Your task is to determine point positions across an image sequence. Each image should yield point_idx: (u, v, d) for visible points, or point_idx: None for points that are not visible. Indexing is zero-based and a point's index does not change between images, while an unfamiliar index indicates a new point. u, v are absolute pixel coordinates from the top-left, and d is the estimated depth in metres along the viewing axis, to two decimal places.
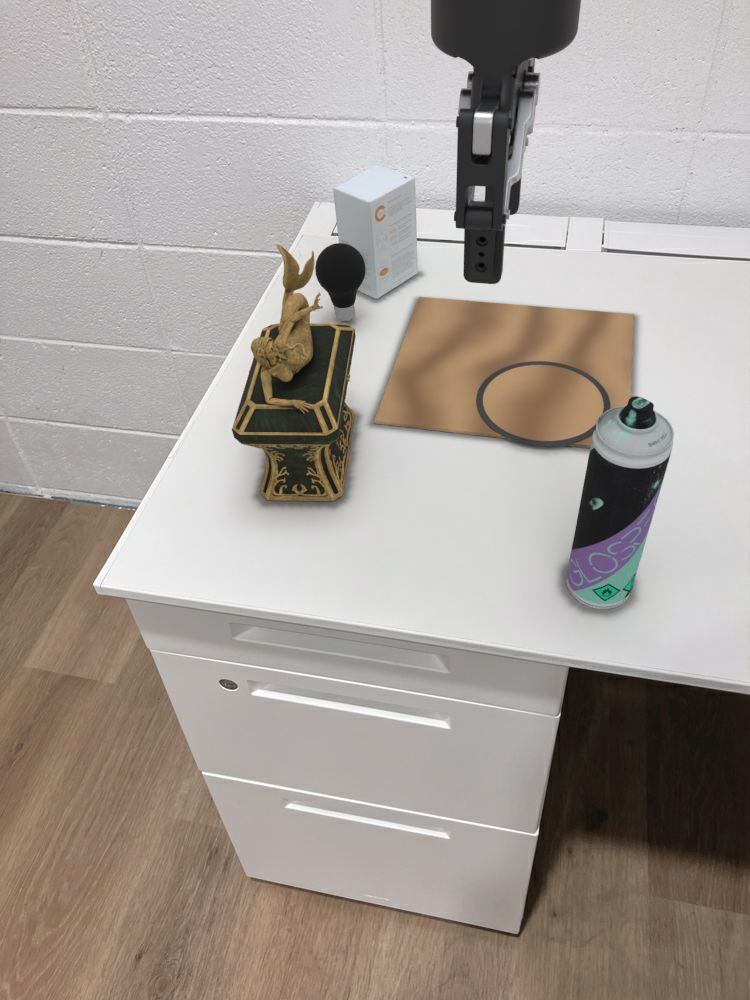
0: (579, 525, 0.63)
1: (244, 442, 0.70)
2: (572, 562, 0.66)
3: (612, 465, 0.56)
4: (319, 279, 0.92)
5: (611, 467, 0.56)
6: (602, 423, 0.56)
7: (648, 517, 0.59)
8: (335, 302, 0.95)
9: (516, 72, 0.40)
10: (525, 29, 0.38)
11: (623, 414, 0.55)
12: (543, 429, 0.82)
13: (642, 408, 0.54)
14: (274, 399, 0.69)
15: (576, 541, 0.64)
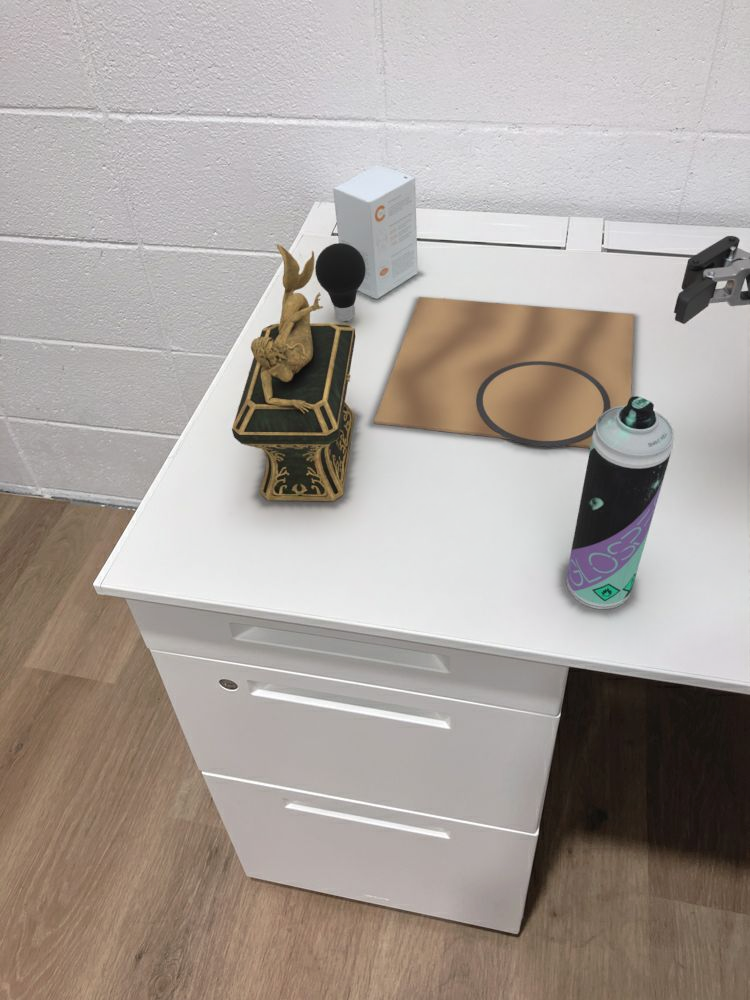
0: (579, 525, 0.63)
1: (244, 442, 0.70)
2: (572, 562, 0.66)
3: (612, 465, 0.56)
4: (319, 279, 0.92)
5: (611, 467, 0.56)
6: (602, 423, 0.56)
7: (648, 517, 0.59)
8: (335, 302, 0.95)
9: None
10: None
11: (623, 414, 0.55)
12: (543, 429, 0.82)
13: (642, 408, 0.54)
14: (274, 399, 0.69)
15: (576, 541, 0.64)
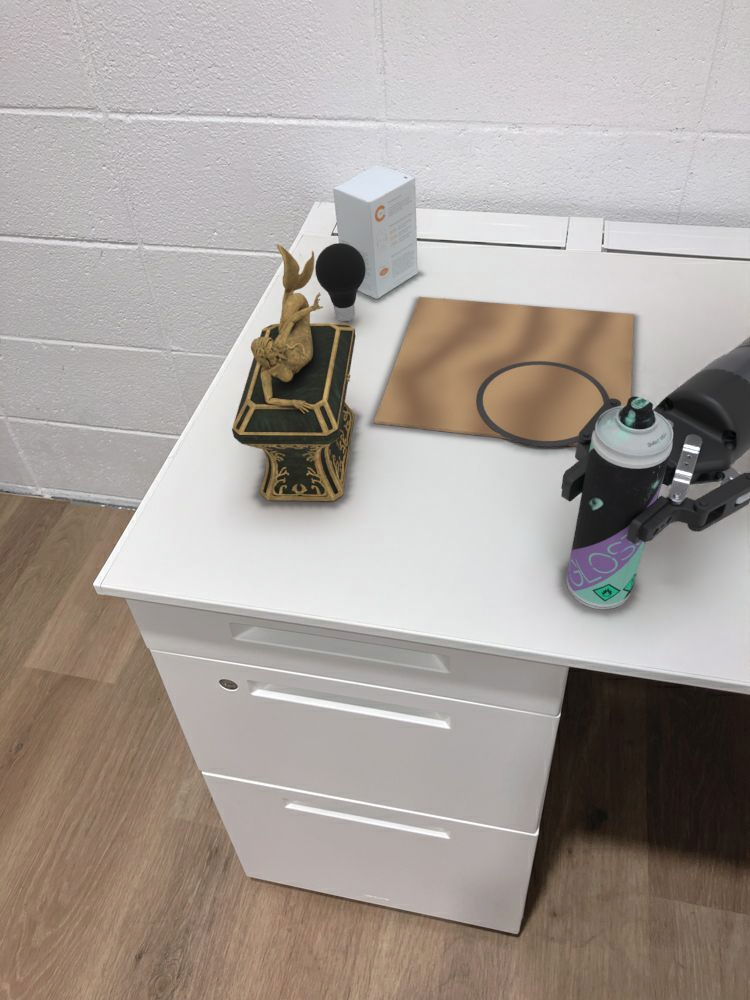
0: (579, 525, 0.63)
1: (244, 442, 0.70)
2: (572, 562, 0.66)
3: (611, 465, 0.56)
4: (319, 279, 0.92)
5: (611, 467, 0.56)
6: (601, 423, 0.56)
7: None
8: (335, 302, 0.95)
9: (662, 411, 0.65)
10: None
11: (622, 414, 0.55)
12: (543, 429, 0.82)
13: (641, 408, 0.54)
14: (274, 399, 0.69)
15: (576, 541, 0.64)
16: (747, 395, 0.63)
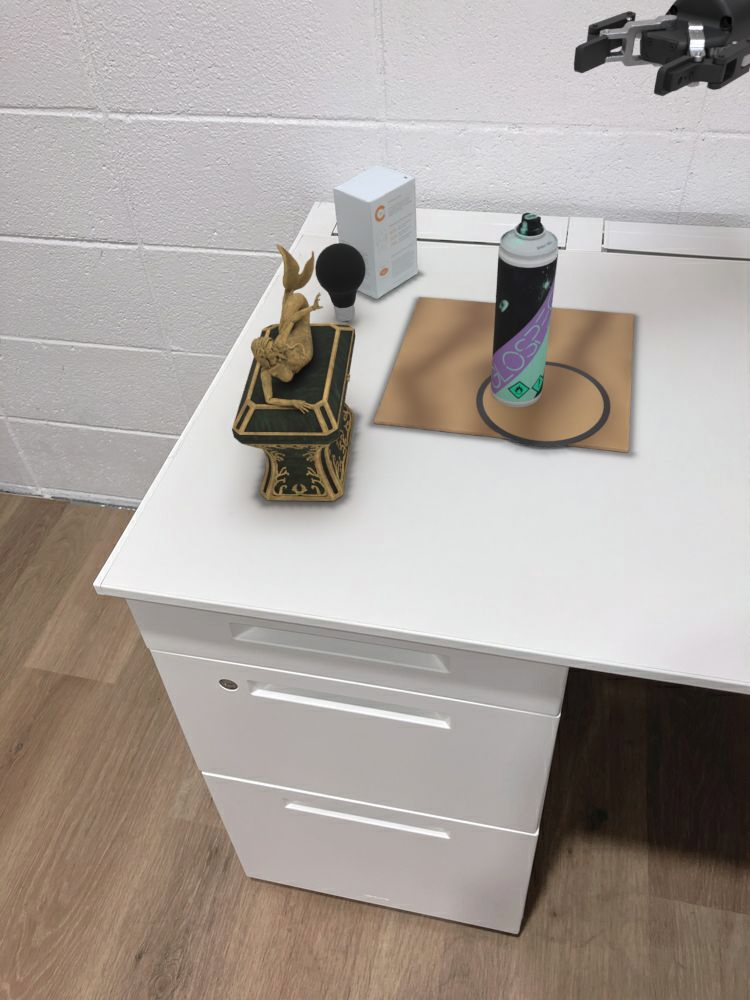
0: (494, 331, 0.80)
1: (244, 442, 0.70)
2: (492, 368, 0.84)
3: (511, 267, 0.73)
4: (319, 279, 0.92)
5: (511, 269, 0.73)
6: (504, 237, 0.74)
7: (544, 316, 0.77)
8: (335, 302, 0.95)
9: None
10: None
11: (519, 226, 0.73)
12: (543, 429, 0.82)
13: (531, 219, 0.71)
14: (274, 399, 0.69)
15: (494, 347, 0.82)
16: None
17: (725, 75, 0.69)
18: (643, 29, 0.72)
